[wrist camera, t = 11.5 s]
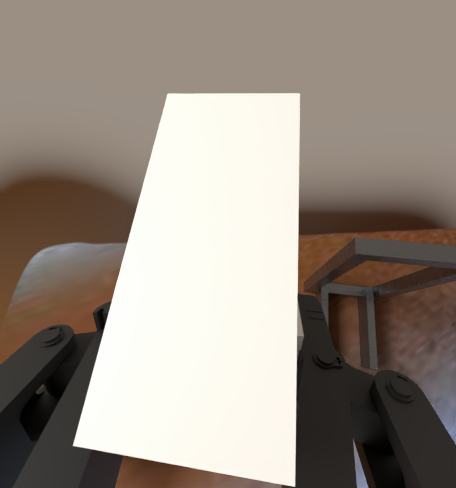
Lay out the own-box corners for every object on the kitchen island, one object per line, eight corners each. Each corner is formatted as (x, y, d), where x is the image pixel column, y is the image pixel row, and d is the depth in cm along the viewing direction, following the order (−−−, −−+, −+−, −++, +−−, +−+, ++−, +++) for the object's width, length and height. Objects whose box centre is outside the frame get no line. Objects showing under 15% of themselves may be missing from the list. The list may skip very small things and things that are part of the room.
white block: (267, 255, 21) (299, 93, 7) (261, 372, 18) (295, 487, 4) (221, 252, 22) (167, 93, 8) (207, 365, 19) (73, 446, 5)
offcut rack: (377, 290, 40) (502, 250, 20) (382, 368, 36) (542, 413, 17) (304, 282, 41) (354, 237, 22) (302, 357, 38) (361, 385, 18)
